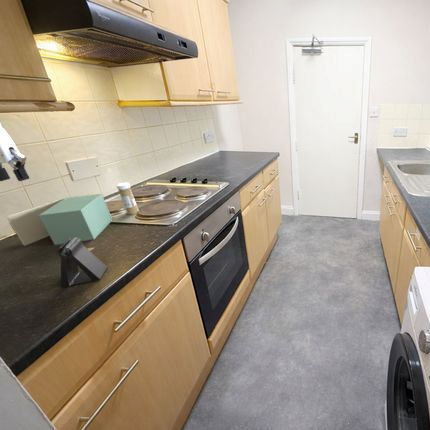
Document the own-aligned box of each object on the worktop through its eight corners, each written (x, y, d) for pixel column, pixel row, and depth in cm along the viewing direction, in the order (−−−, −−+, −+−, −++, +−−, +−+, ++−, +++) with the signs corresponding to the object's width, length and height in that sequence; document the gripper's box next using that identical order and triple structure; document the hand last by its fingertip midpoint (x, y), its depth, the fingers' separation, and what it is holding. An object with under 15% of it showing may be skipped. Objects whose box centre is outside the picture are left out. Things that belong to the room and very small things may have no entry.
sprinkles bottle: (141, 211, 119) (131, 182, 113) (132, 215, 115) (121, 186, 109) (134, 210, 120) (123, 181, 114) (124, 214, 116) (113, 185, 110)
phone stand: (108, 268, 80) (92, 233, 75) (100, 280, 75) (82, 244, 70) (72, 275, 78) (53, 240, 72) (61, 288, 72) (40, 251, 67)
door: (17, 243, 95) (-1, 215, 90) (70, 223, 109) (57, 197, 104) (25, 245, 93) (7, 216, 88) (77, 224, 108) (64, 198, 103)
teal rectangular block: (54, 245, 94) (38, 215, 88) (78, 224, 108) (66, 197, 103) (94, 239, 97) (80, 210, 91) (112, 220, 111) (101, 193, 106)
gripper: (-56, 128, 82) (-22, 183, 90) (-4, 127, 81) (26, 183, 89) (-26, 125, 89) (3, 176, 96) (22, 124, 88) (48, 176, 95)
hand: (14, 179), depth 93 cm, fingers open, 6 cm apart
